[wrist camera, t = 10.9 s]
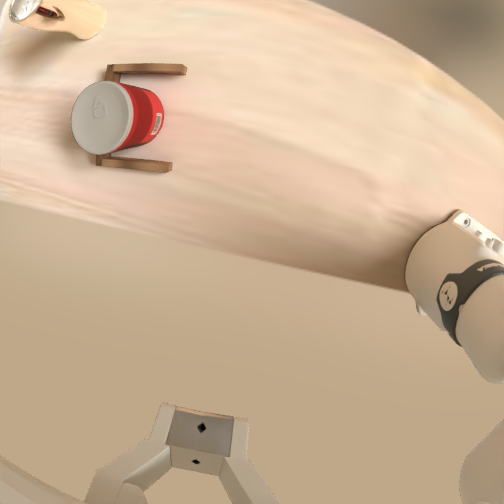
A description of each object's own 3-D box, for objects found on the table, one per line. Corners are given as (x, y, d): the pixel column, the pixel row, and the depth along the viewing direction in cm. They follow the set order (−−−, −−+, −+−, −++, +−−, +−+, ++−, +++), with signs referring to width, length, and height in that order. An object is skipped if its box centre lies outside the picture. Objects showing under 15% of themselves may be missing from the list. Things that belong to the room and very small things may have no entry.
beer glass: (71, 48, 30) (4, 34, 17) (73, 12, 28) (12, -11, 14) (109, 34, 30) (46, 8, 16) (111, -4, 27) (54, -38, 13)
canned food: (153, 79, 33) (115, 66, 23) (175, 130, 36) (142, 133, 26) (107, 106, 35) (61, 105, 24) (127, 154, 37) (85, 167, 27)
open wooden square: (187, 67, 32) (181, 64, 30) (171, 169, 38) (165, 172, 36) (116, 67, 32) (107, 64, 30) (104, 162, 38) (95, 165, 36)
